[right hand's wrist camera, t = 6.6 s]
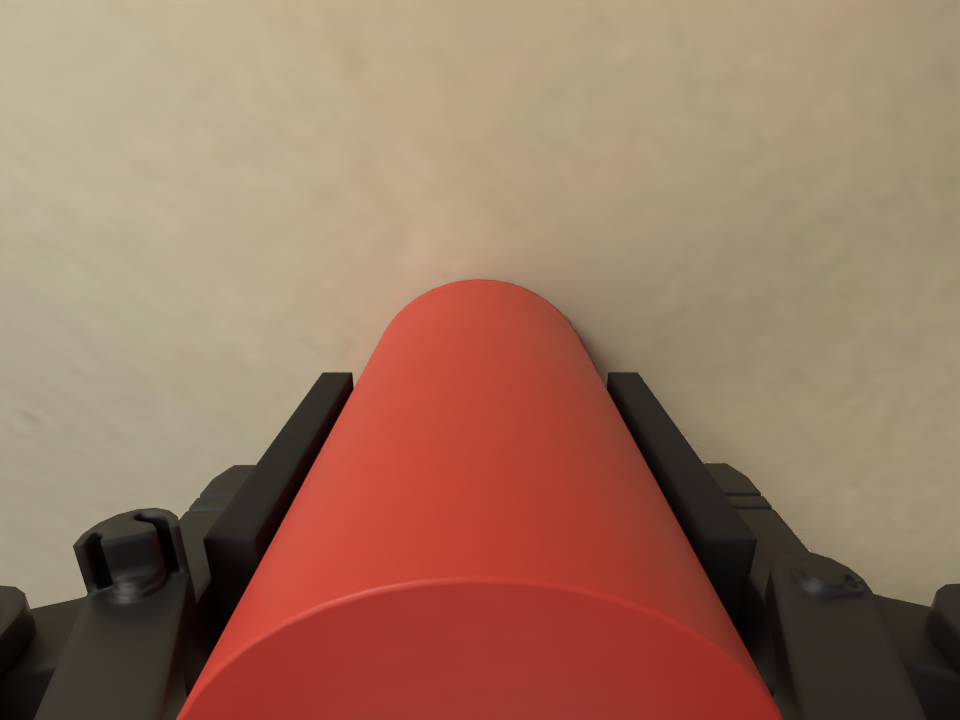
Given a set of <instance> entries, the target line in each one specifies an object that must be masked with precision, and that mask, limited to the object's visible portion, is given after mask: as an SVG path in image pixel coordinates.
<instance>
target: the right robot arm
mask: <svg viewBox="0 0 960 720" xmlns="http://www.w3.org/2000/svg"><path fill="white" fill-rule="evenodd" d="M353 389H354V387H353V376H352V373H322V374H321V376H320V377H319V379H318V380H317V381H316V383H315V384H314V386H313V387H312V388H311V390H310V391H309V392H308V394H307V395H306V397H305V398H304V399H303V401H302V402H301V404H300V405H299V406H298V408H297V409H296V411H295V412H294V413H293V415H292V416H291V418H290V419H289V420H288V422H287V423H286V424H285V426H284V427H283V429H282V430H281V431H280V433H279V434H278V436H277V437H276V438H275V440H274V441H273V443H272V444H271V445H270V447H269V448H268V449H267V451H266V452H265V454H264V455H263V456H262V458H261V459H260V461H259V462H258V463H257V465H234V466H232V467H231V468H229V469H228V470H226V471H225V472H223V473H222V474H220V475H219V476H217V477H215V478H214V479H213V480H212V481H211V482H210V483H209V485H208V486H207V487H206V488H205V490H204V491H203V492H202V493H201V494H200V498H197V499H196V501H195V502H194V503H193V504H192V505H191V507H190V508H189V512H186V513H185V514H184V515H183V516H182V518H181V519H180V520H179V521H178V517H177V516H176V515H175V514H173V513H172V512H171V511H169V510H164V509H158V508H149V509H137V510H133V511H130V512H126V513H122V514H118V515H116V516H114V517H111V518H109V519H107V520H105V521H102V522H100V523H98V524H97V525H95V526H94V527H92V528H91V529H90V530H88V531H87V532H85V533H84V534H82V536H81V537H80V538H79V539H78V541H77V542H76V543H75V544H74V545H73V548H74V551H75V554H76V557H77V561H78V564H79V567H80V570H81V573H82V576H83V579H84V583H85V586H86V589H87V592H88V594H87V596H86V597H83V598H79V599H75V600H71V601H66V602H62V603H57V604H52V605H48V606H43V607H39V608H34V609H30V607H29V604H28V601H27V599H26V596H25V593H23V592H22V591H21V590H19V589H18V588H16V587H9V586H0V720H176V719H177V717H178V715H179V713H180V711H181V709H182V707H183V706H184V704H185V702H186V700H187V698H188V696H189V694H190V693H191V691H192V689H193V687H194V685H195V683H196V681H197V680H198V678H199V676H200V674H201V672H202V670H203V668H204V667H205V665H206V663H207V661H208V659H209V657H210V655H211V654H212V652H213V650H214V648H215V646H216V644H217V642H218V640H219V639H220V637H221V635H222V633H223V631H224V629H225V627H226V626H227V624H228V622H229V620H230V618H231V616H232V614H233V613H234V611H235V609H236V607H237V605H238V603H239V601H240V600H241V598H242V596H243V594H244V592H245V590H246V588H247V587H248V585H249V583H250V581H251V579H252V577H253V575H254V574H255V572H256V570H257V568H258V566H259V564H260V562H261V561H262V559H263V557H264V555H265V553H266V551H267V549H268V547H269V546H270V544H271V542H272V540H273V538H274V536H275V534H276V533H277V531H278V529H279V527H280V525H281V523H282V521H283V520H284V518H285V516H286V514H287V512H288V510H289V508H290V507H291V505H292V503H293V501H294V499H295V497H296V495H297V494H298V492H299V490H300V488H301V486H302V484H303V482H304V481H305V479H306V477H307V475H308V473H309V471H310V469H311V468H312V466H313V464H314V462H315V460H316V458H317V456H318V454H319V453H320V451H321V449H322V447H323V445H324V443H325V441H326V440H327V438H328V436H329V434H330V432H331V430H332V428H333V427H334V425H335V423H336V421H337V419H338V417H339V415H340V414H341V412H342V410H343V408H344V406H345V404H346V402H347V401H348V399H349V397H350V395H351V393H352V391H353ZM607 391H608V393H609V395H610V396H611V398H612V400H613V402H614V404H615V406H616V408H617V409H618V411H619V413H620V415H621V417H622V419H623V421H624V422H625V424H626V426H627V428H628V430H629V432H630V434H631V435H632V437H633V439H634V441H635V443H636V445H637V447H638V448H639V450H640V452H641V454H642V456H643V458H644V460H645V461H646V463H647V465H648V467H649V469H650V471H651V473H652V474H653V476H654V478H655V480H656V482H657V484H658V486H659V487H660V489H661V491H662V493H663V495H664V497H665V499H666V500H667V502H668V504H669V506H670V508H671V510H672V512H673V513H674V515H675V517H676V519H677V521H678V523H679V525H680V526H681V528H682V530H683V532H684V534H685V536H686V538H687V539H688V541H689V543H690V545H691V547H692V549H693V551H694V552H695V554H696V556H697V558H698V560H699V562H700V564H701V565H702V567H703V569H704V571H705V573H706V575H707V577H708V578H709V580H710V582H711V584H712V586H713V588H714V590H715V591H716V593H717V595H718V597H719V599H720V601H721V603H722V604H723V606H724V608H725V610H726V612H727V614H728V616H729V617H730V619H731V621H732V623H733V625H734V627H735V629H736V630H737V632H738V634H739V636H740V638H741V640H742V642H743V643H744V645H745V647H746V649H747V651H748V653H749V655H750V656H751V658H752V660H753V662H754V664H755V666H756V668H757V669H758V671H759V673H760V675H761V677H762V679H763V681H764V682H765V684H766V686H767V688H768V690H769V692H770V694H771V695H772V697H773V699H774V701H775V703H776V705H777V707H778V709H779V711H780V713H781V715H782V717H783V719H784V720H960V584H948V585H945V586H943V587H942V588H940V589H939V590H937V592H936V595H935V597H934V600H933V603H932V606H931V607H928V606H923V605H919V604H914V603H909V602H905V601H900V600H896V599H891V598H887V597H883V596H879V595H876V594H873V593H872V591H871V590H870V588H869V587H868V585H867V584H866V583H865V581H864V580H863V579H862V578H861V577H860V576H858V575H857V574H856V573H855V572H853V571H852V570H851V569H850V568H848V567H846V566H844V565H842V564H840V563H838V562H836V561H835V560H833V559H831V558H828V557H824V556H821V555H818V554H814V553H810V552H809V551H808V550H807V549H806V547H805V546H804V545H803V544H802V542H801V541H800V540H799V539H798V538H797V536H796V535H795V534H794V533H793V532H792V530H791V529H790V528H789V527H788V526H787V524H786V523H785V522H784V521H783V520H782V518H781V517H780V516H779V515H778V513H777V512H776V511H775V510H772V508H771V507H772V506H771V505H770V504H769V503H768V501H767V500H766V499H765V498H764V497H763V496H761V493H760V492H759V490H758V489H757V488H756V487H755V486H754V484H753V483H752V482H751V481H750V480H749V478H748V477H746V476H745V475H743V474H742V473H740V472H739V471H737V470H736V469H734V468H732V467H731V466H729V465H728V464H703V463H702V462H701V460H700V459H699V457H698V456H697V455H696V453H695V452H694V450H693V449H692V448H691V446H690V445H689V443H688V442H687V441H686V439H685V438H684V436H683V435H682V434H681V432H680V431H679V430H678V428H677V427H676V425H675V424H674V423H673V421H672V420H671V418H670V417H669V416H668V414H667V413H666V411H665V410H664V409H663V407H662V406H661V405H660V403H659V402H658V400H657V399H656V398H655V396H654V395H653V393H652V392H651V391H650V389H649V388H648V386H647V385H646V384H645V382H644V381H643V379H642V378H641V377H640V375H639V374H638V373H608V380H607Z"/></svg>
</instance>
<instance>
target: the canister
mask: <svg viewBox="0 0 960 720" xmlns="http://www.w3.org/2000/svg"><path fill="white" fill-rule="evenodd" d="M176 720H784V719H783V717H782V715H781V713H780V711H779V709H778V707H777V705H776V703H775V701H774V699H773V697H772V695H771V694H770V692H769V690H768V688H767V686H766V684H765V682H764V681H763V679H762V677H761V675H760V673H759V671H758V669H757V668H756V666H755V664H754V662H753V660H752V658H751V656H750V655H749V653H748V651H747V649H746V647H745V645H744V643H743V642H742V640H741V638H740V636H739V634H738V632H737V630H736V629H735V627H734V625H733V623H732V621H731V619H730V617H729V616H728V614H727V612H726V610H725V608H724V606H723V604H722V603H721V601H720V599H719V597H718V595H717V593H716V591H715V590H714V588H713V586H712V584H711V582H710V580H709V578H708V577H707V575H706V573H705V571H704V569H703V567H702V565H701V564H700V562H699V560H698V558H697V556H696V554H695V552H694V551H693V549H692V547H691V545H690V543H689V541H688V539H687V538H686V536H685V534H684V532H683V530H682V528H681V526H680V525H679V523H678V521H677V519H676V517H675V515H674V513H673V512H672V510H671V508H670V506H669V504H668V502H667V500H666V499H665V497H664V495H663V493H662V491H661V489H660V487H659V486H658V484H657V482H656V480H655V478H654V476H653V474H652V473H651V471H650V469H649V467H648V465H647V463H646V461H645V460H644V458H643V456H642V454H641V452H640V450H639V448H638V447H637V445H636V443H635V441H634V439H633V437H632V435H631V434H630V432H629V430H628V428H627V426H626V424H625V422H624V421H623V419H622V417H621V415H620V413H619V411H618V409H617V408H616V406H615V404H614V402H613V400H612V398H611V396H610V395H609V393H608V391H607V389H606V387H605V385H604V383H603V382H602V380H601V378H600V376H599V374H598V372H597V370H596V369H595V367H594V365H593V363H592V361H591V359H590V357H589V356H588V354H587V352H586V350H585V348H584V346H583V344H582V343H581V341H580V339H579V337H578V335H577V333H576V332H575V330H574V329H573V327H572V326H571V324H570V323H569V321H568V320H567V319H566V318H565V317H564V316H563V315H562V314H561V312H560V311H559V310H557V309H556V308H555V307H554V306H553V305H552V304H550V303H549V302H548V301H546V300H545V299H543V298H542V297H540V296H538V295H537V294H535V293H533V292H531V291H529V290H527V289H524V288H522V287H519V286H516V285H513V284H509V283H505V282H499V281H494V280H468V281H460V282H455V283H451V284H447V285H444V286H441V287H439V288H436V289H433V290H431V291H429V292H427V293H425V294H423V295H422V296H420V297H418V298H417V299H415V300H414V301H413V302H411V303H410V304H408V305H407V306H406V307H405V308H404V309H403V310H402V311H401V312H400V313H399V314H398V315H397V316H396V317H395V318H394V319H393V321H392V322H391V323H390V324H389V326H388V327H387V329H386V331H385V332H384V334H383V336H382V337H381V339H380V341H379V343H378V345H377V347H376V348H375V350H374V352H373V354H372V356H371V358H370V360H369V361H368V363H367V365H366V367H365V369H364V371H363V373H362V375H361V376H360V378H359V380H358V382H357V384H356V386H355V388H354V389H353V391H352V393H351V395H350V397H349V399H348V401H347V402H346V404H345V406H344V408H343V410H342V412H341V414H340V415H339V417H338V419H337V421H336V423H335V425H334V427H333V428H332V430H331V432H330V434H329V436H328V438H327V440H326V441H325V443H324V445H323V447H322V449H321V451H320V453H319V454H318V456H317V458H316V460H315V462H314V464H313V466H312V468H311V469H310V471H309V473H308V475H307V477H306V479H305V481H304V482H303V484H302V486H301V488H300V490H299V492H298V494H297V495H296V497H295V499H294V501H293V503H292V505H291V507H290V508H289V510H288V512H287V514H286V516H285V518H284V520H283V521H282V523H281V525H280V527H279V529H278V531H277V533H276V534H275V536H274V538H273V540H272V542H271V544H270V546H269V547H268V549H267V551H266V553H265V555H264V557H263V559H262V561H261V562H260V564H259V566H258V568H257V570H256V572H255V574H254V575H253V577H252V579H251V581H250V583H249V585H248V587H247V588H246V590H245V592H244V594H243V596H242V598H241V600H240V601H239V603H238V605H237V607H236V609H235V611H234V613H233V614H232V616H231V618H230V620H229V622H228V624H227V626H226V627H225V629H224V631H223V633H222V635H221V637H220V639H219V640H218V642H217V644H216V646H215V648H214V650H213V652H212V654H211V655H210V657H209V659H208V661H207V663H206V665H205V667H204V668H203V670H202V672H201V674H200V676H199V678H198V680H197V681H196V683H195V685H194V687H193V689H192V691H191V693H190V694H189V696H188V698H187V700H186V702H185V704H184V706H183V707H182V709H181V711H180V713H179V715H178V717H177V719H176Z"/></svg>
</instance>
